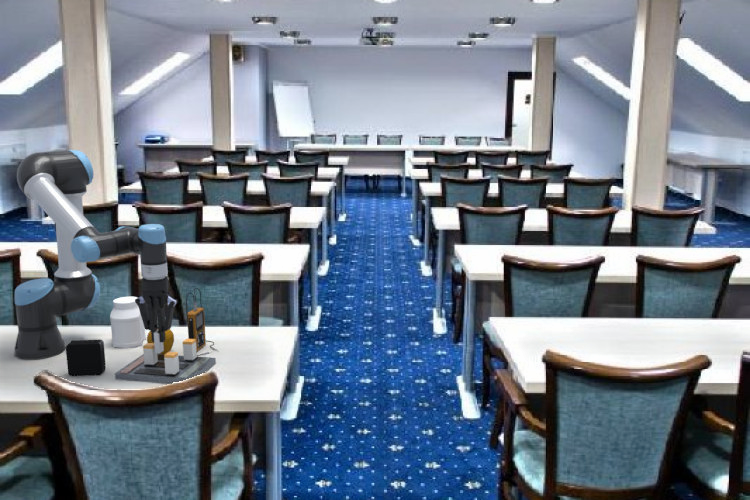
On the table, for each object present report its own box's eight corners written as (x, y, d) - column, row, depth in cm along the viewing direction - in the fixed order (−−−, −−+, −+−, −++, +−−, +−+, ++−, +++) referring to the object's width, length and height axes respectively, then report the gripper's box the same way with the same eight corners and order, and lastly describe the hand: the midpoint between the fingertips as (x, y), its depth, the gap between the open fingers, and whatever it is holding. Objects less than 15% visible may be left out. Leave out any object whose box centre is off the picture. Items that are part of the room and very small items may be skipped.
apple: (142, 355, 246) (140, 329, 244) (162, 347, 253) (160, 322, 251) (161, 360, 241) (159, 333, 239) (180, 352, 248) (179, 326, 247)
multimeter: (213, 357, 243) (209, 297, 239) (184, 355, 245) (180, 295, 241) (230, 342, 257) (227, 285, 253) (203, 340, 259) (199, 284, 255)
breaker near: (165, 373, 224) (164, 354, 222) (169, 370, 226) (168, 351, 225) (174, 374, 223) (173, 355, 222) (179, 370, 226) (178, 352, 224)
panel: (115, 379, 226) (114, 372, 225) (145, 358, 243) (144, 351, 242) (190, 385, 221) (190, 378, 220) (215, 363, 238) (215, 357, 238)
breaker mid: (144, 364, 231) (142, 345, 230) (148, 360, 234) (147, 342, 233) (153, 364, 231) (152, 346, 230) (157, 361, 233) (156, 343, 232)
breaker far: (183, 359, 235) (182, 341, 234) (187, 356, 238) (186, 338, 236) (192, 360, 234) (191, 342, 233) (196, 356, 237) (195, 339, 236)
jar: (139, 347, 253) (136, 304, 250) (110, 348, 252) (106, 305, 249) (147, 336, 264) (144, 294, 261) (119, 337, 263) (115, 295, 260)
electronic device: (72, 371, 232) (69, 340, 230) (106, 370, 233) (103, 339, 231) (68, 376, 228) (65, 345, 226) (102, 375, 229) (99, 343, 227)
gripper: (128, 278, 224) (133, 354, 229) (169, 281, 221) (173, 357, 226) (141, 272, 231) (145, 346, 236) (180, 274, 228) (184, 349, 233)
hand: (159, 351), depth 231 cm, fingers closed
